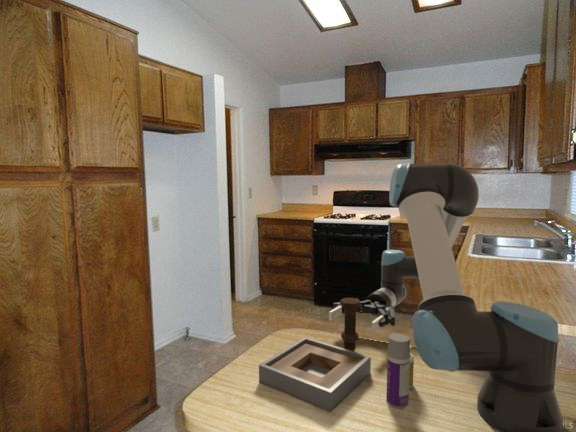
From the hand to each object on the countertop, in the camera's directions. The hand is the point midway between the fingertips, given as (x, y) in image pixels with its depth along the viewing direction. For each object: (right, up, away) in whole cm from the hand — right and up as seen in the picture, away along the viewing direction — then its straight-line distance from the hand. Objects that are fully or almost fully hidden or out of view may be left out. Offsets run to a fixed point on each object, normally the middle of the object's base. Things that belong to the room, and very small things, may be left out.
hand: (350, 321), depth 109 cm
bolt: (0, -9, 0) cm, 9 cm away
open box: (-11, -10, -15) cm, 21 cm away
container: (+6, -11, -25) cm, 28 cm away
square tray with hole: (-11, -10, -15) cm, 21 cm away
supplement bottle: (+9, -10, -17) cm, 22 cm away
